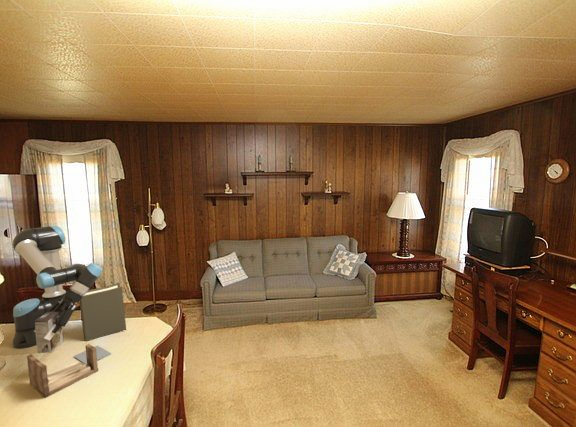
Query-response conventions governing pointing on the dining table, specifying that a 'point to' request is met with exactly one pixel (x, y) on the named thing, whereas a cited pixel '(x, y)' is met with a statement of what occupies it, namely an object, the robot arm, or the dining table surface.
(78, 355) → the mat
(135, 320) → the dining table surface
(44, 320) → the coffee box
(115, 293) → the book
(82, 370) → the rack
